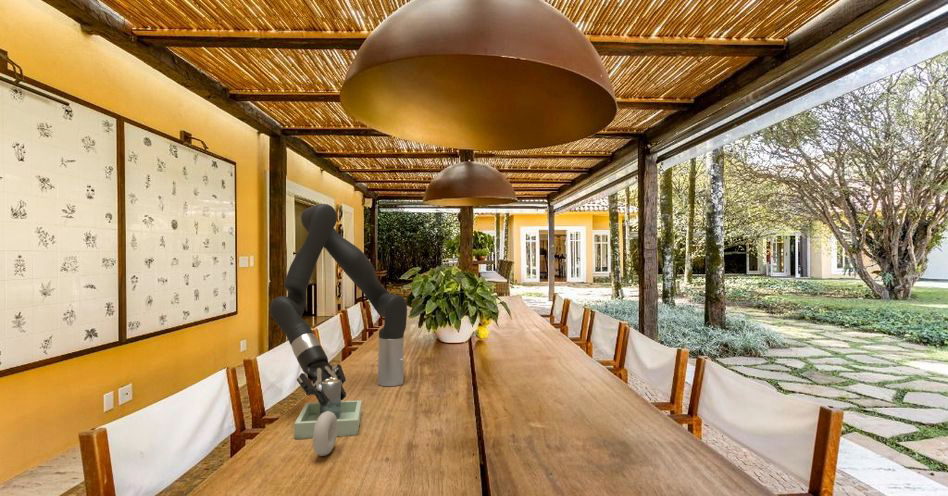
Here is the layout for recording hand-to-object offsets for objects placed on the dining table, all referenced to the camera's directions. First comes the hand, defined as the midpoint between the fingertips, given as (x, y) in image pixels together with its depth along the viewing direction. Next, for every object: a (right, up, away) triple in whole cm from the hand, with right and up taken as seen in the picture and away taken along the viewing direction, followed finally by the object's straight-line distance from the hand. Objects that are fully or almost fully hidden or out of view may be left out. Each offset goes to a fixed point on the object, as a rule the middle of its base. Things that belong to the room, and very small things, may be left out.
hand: (334, 401), depth 122 cm
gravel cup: (-2, -5, +1) cm, 5 cm away
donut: (+3, -7, -17) cm, 18 cm away
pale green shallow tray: (-2, -7, +1) cm, 7 cm away
